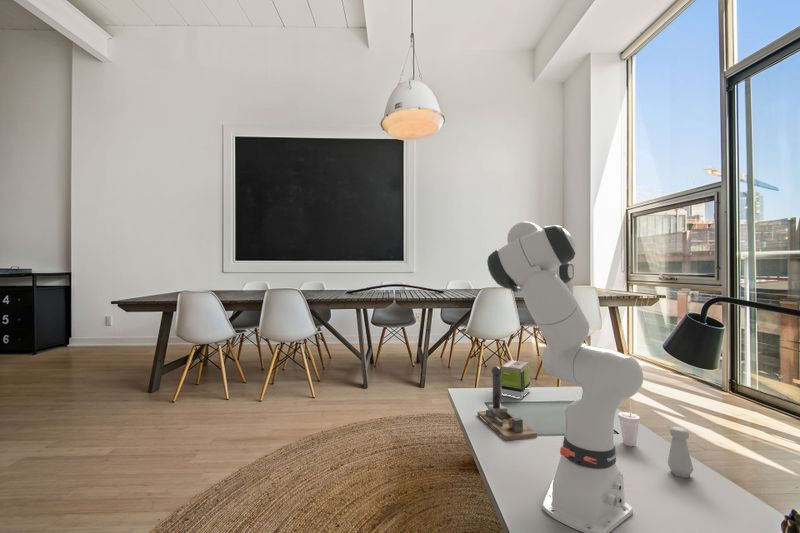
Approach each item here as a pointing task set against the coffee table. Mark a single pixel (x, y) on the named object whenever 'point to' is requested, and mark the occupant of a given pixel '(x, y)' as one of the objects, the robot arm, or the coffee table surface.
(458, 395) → the coffee table surface
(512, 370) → the tea box
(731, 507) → the coffee table surface
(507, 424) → the base
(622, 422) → the smoothie
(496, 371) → the handle slide
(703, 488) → the coffee table surface
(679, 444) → the salt shaker
